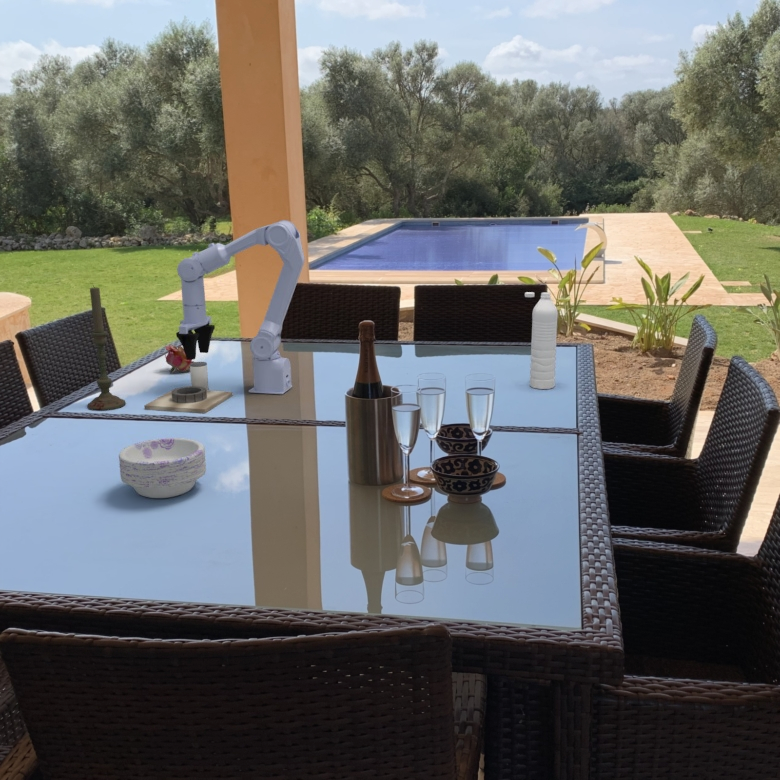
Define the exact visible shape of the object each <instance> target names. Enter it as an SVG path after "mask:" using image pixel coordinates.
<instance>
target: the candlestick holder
mask: <svg viewBox="0 0 780 780" xmlns="http://www.w3.org/2000/svg"><path fill="white" fill-rule="evenodd" d="M92 286H93V287H91V288H89V294H90V303H91V311H92V314H91V315H92V322H93V331H92V332H91V333H90V335H91V336H92V337H93V339H92V343H93V345H94V346H96V347H97V348H96V349H97V352H96V357H97V359H98V366H99V367H98V369H99V372H100V375H99V377H98V379H97V380H96V383H97V386H98V388H99V389H100V393H99V395H98V396H97V397H94V398H93V399H92V400H91V401H89V402H88V403H87V406H86V407H87V409H89V410H90V411H95V412H98V411H99V412H100V411H101V412H106V411H112V410H118V409H120V408H123V407H124V406H126V404H127V403H126V400H125V399H123V398H120V397H119V396H118V395H115V394H113V393H112V392H110V387H111V386H112V382H113V381H112V379H111V378H110V377H108V374H107V366H106V365H107V363H106V357H107V354H106V349H105V345H106V344H108V339H107V335H108V331H107V330H104V329H105V328H104V321H103V311H102V303H101V302H102V300H101V299H102V298H101V291H100V287H95V286H94V285H92Z"/></svg>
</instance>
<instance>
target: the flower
mask: <svg viewBox="0 0 780 780" xmlns="http://www.w3.org/2000/svg"><path fill="white" fill-rule="evenodd" d="M164 347H165V349H166V350H167V354H166V353H165V352H163V354H164V358H165V362H166V363H167V364H168V365H169V366H171V368H170V370H169V373H171V374H173V372H174V371H175V370H176V371H177V372H178V371H179V372H181V373H187V370H190V363H193V362H195V361H194V360H193V359H187V358H186V355H185V352H184V349H183V346H182V345H179V346H177V347H176V346H175V345H173V344H172V345H171V344H168V346H166V345H165V346H164Z"/></svg>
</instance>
